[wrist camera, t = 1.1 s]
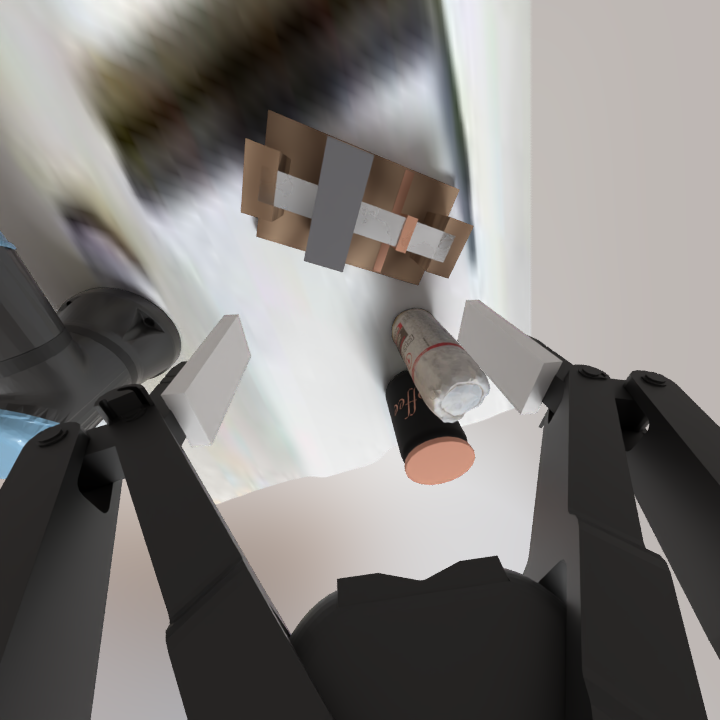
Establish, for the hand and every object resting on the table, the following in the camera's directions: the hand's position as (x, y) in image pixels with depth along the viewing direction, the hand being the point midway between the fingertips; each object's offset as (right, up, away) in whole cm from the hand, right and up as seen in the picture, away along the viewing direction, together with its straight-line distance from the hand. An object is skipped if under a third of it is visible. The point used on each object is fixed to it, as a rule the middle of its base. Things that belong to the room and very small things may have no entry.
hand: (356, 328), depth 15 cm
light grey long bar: (0, +15, +15) cm, 21 cm away
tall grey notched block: (-3, +17, +17) cm, 24 cm away
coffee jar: (+10, -8, +38) cm, 41 cm away
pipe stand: (0, +18, +20) cm, 27 cm away
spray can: (+10, +4, +31) cm, 33 cm away
